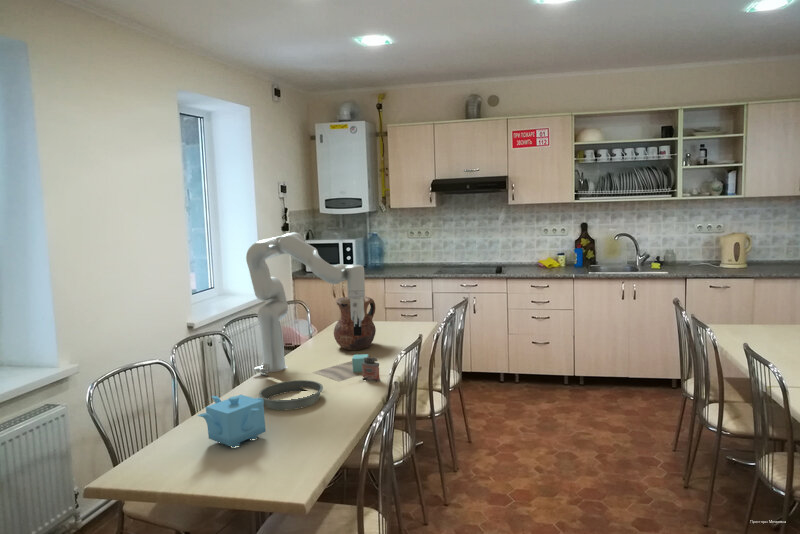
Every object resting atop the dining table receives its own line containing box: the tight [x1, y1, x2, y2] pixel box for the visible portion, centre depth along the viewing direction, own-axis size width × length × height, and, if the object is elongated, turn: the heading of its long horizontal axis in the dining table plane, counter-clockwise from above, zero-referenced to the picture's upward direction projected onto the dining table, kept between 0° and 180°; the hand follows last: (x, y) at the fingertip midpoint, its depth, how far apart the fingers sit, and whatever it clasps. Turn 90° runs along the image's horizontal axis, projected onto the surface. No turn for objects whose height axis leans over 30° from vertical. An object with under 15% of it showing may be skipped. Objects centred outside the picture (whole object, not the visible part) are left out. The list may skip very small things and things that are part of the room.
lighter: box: [362, 356, 381, 383], centre depth 257 cm, size 8×3×10 cm, turn 62°
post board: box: [312, 360, 363, 382], centre depth 268 cm, size 22×20×6 cm
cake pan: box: [258, 379, 324, 411], centre depth 238 cm, size 25×25×4 cm
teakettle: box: [197, 394, 267, 447], centre depth 201 cm, size 19×19×15 cm
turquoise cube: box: [351, 353, 370, 372], centre depth 268 cm, size 6×6×6 cm
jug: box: [333, 296, 377, 351], centre depth 312 cm, size 22×21×25 cm
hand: (357, 335), depth 266 cm, fingers closed
